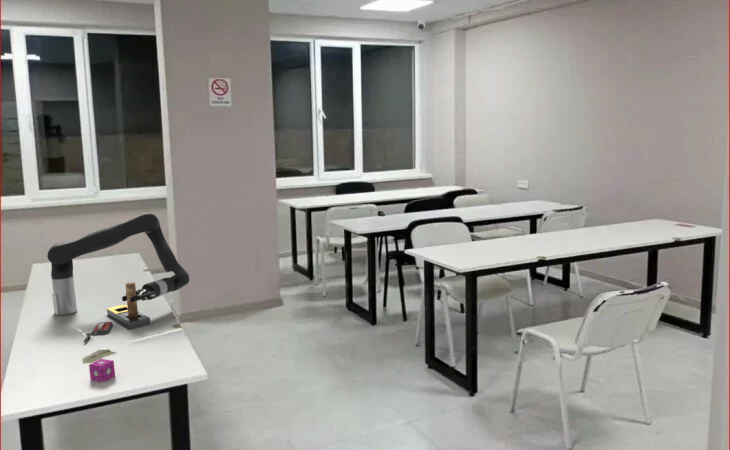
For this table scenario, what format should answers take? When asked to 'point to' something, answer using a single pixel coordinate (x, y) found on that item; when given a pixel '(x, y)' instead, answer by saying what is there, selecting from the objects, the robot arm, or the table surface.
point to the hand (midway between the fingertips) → (127, 299)
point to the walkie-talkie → (99, 329)
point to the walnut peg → (131, 305)
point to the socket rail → (121, 317)
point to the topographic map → (97, 356)
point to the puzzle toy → (102, 370)
